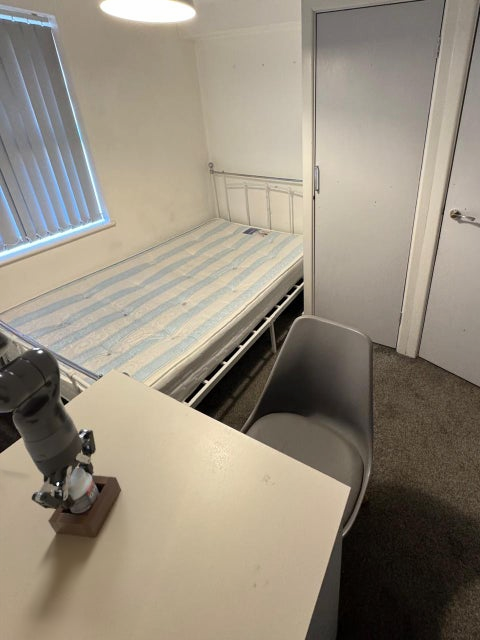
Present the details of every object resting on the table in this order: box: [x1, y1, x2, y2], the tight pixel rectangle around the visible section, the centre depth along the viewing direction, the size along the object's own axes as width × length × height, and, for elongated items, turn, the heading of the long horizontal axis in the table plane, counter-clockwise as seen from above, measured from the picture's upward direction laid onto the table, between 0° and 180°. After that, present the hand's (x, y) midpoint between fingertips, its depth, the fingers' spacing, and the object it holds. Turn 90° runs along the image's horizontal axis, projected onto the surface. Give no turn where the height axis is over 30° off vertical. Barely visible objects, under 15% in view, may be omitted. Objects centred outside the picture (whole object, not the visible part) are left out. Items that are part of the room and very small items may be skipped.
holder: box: [48, 474, 122, 539], centre depth 72 cm, size 9×9×5 cm
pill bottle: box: [68, 467, 99, 515], centre depth 70 cm, size 5×5×10 cm
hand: (79, 489), depth 70 cm, fingers closed on pill bottle, 5 cm apart
